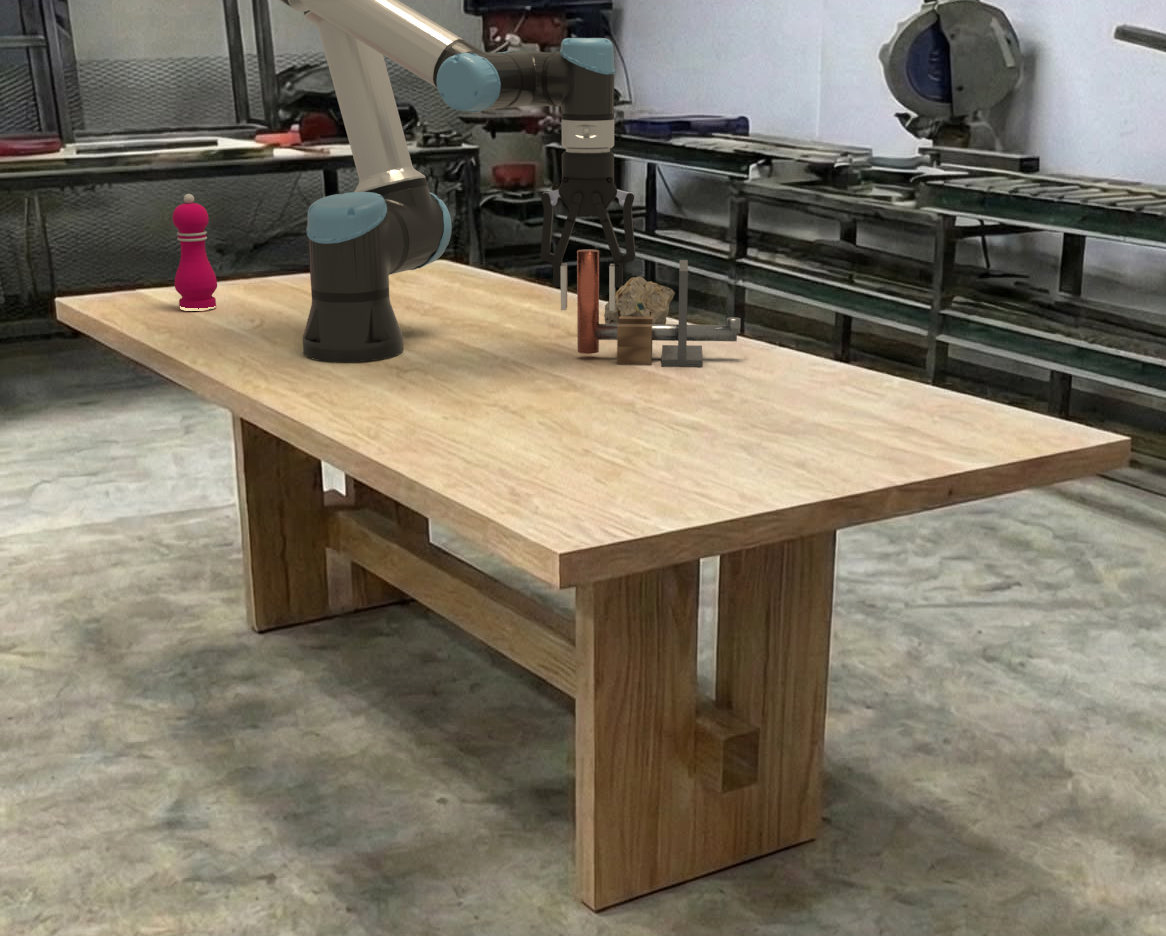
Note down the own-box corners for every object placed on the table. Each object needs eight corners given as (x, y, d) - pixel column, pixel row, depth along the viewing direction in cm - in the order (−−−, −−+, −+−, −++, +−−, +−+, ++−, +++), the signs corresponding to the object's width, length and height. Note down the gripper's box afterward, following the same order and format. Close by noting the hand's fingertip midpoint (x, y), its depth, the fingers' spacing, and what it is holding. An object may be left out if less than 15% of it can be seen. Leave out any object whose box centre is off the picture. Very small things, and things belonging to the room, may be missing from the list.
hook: (576, 353, 213) (576, 252, 209) (578, 348, 217) (577, 249, 212) (739, 355, 212) (743, 253, 208) (739, 350, 215) (742, 250, 211)
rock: (619, 333, 227) (631, 270, 227) (596, 331, 232) (608, 270, 232) (679, 348, 233) (691, 288, 233) (655, 347, 239) (667, 288, 239)
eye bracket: (661, 366, 210) (662, 270, 206) (662, 351, 219) (663, 259, 215) (702, 366, 209) (704, 271, 205) (701, 352, 219) (703, 260, 215)
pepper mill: (168, 311, 251) (158, 195, 245) (191, 304, 257) (181, 190, 252) (205, 313, 249) (195, 196, 243) (226, 306, 255) (218, 192, 250)
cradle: (617, 364, 211) (617, 326, 209) (619, 352, 219) (619, 316, 217) (651, 364, 211) (651, 327, 209) (652, 352, 218) (652, 316, 217)
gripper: (517, 151, 203) (520, 313, 210) (655, 152, 202) (653, 314, 209) (523, 147, 210) (525, 303, 217) (656, 148, 209) (654, 304, 216)
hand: (588, 308), depth 213 cm, fingers open, 6 cm apart
